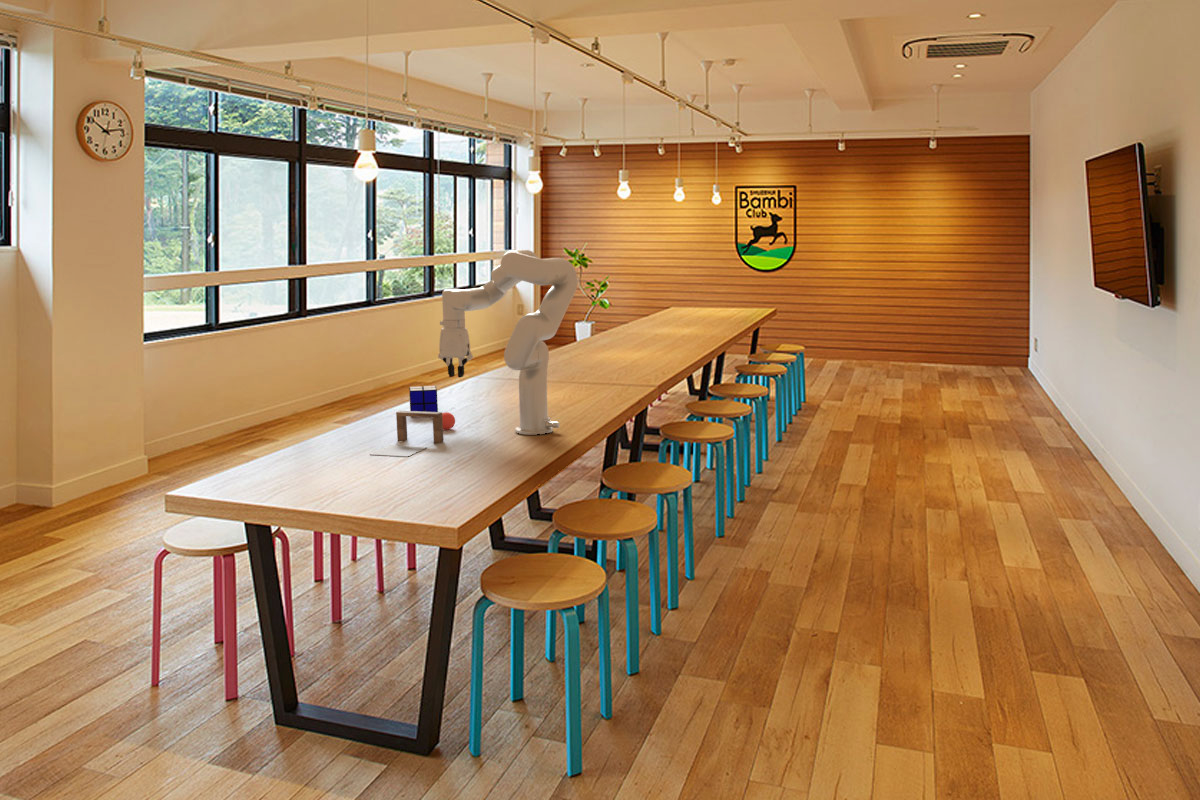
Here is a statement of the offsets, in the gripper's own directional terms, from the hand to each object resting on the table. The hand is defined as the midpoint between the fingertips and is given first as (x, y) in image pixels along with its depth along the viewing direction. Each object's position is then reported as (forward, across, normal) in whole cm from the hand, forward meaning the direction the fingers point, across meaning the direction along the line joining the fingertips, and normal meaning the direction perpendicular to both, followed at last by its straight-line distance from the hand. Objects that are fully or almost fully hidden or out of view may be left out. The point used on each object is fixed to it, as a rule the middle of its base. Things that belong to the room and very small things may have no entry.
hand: (456, 376), depth 354 cm
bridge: (+17, 0, -30) cm, 34 cm away
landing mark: (+17, 0, -44) cm, 48 cm away
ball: (+14, 0, -10) cm, 17 cm away
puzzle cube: (+17, -21, +16) cm, 31 cm away
